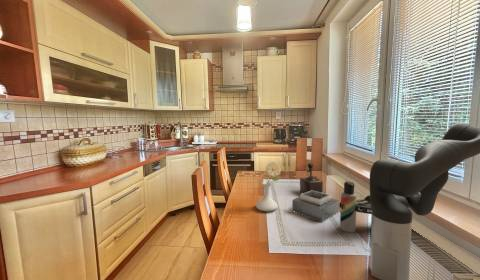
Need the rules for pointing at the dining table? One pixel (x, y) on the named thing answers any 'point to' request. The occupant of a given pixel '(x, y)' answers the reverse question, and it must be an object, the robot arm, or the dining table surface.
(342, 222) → the lotion bottle
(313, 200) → the gray square holder
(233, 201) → the dining table surface
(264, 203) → the flower in vase
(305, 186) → the bronze sculpture
